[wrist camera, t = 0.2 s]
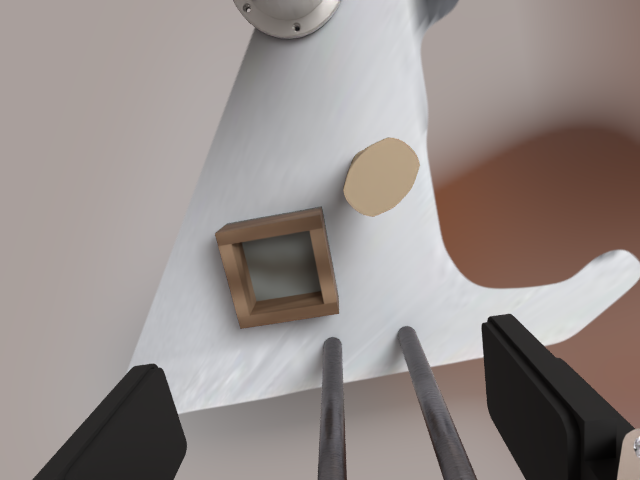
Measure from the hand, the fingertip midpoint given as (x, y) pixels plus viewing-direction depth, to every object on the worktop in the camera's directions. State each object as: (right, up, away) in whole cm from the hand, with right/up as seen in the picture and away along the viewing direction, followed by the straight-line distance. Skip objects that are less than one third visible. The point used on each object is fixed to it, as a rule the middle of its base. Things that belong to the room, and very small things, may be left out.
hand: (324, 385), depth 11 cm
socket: (-5, +2, +37) cm, 37 cm away
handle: (+5, +13, +33) cm, 36 cm away
